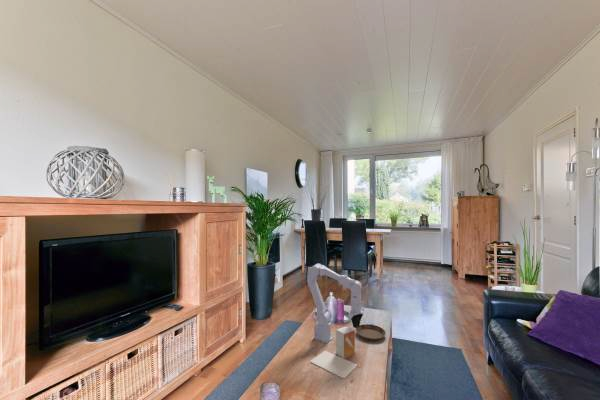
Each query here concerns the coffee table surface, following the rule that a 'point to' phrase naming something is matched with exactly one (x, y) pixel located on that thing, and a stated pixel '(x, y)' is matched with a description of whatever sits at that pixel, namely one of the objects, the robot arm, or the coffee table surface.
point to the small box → (345, 342)
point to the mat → (334, 364)
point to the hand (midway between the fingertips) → (356, 326)
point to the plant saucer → (370, 332)
